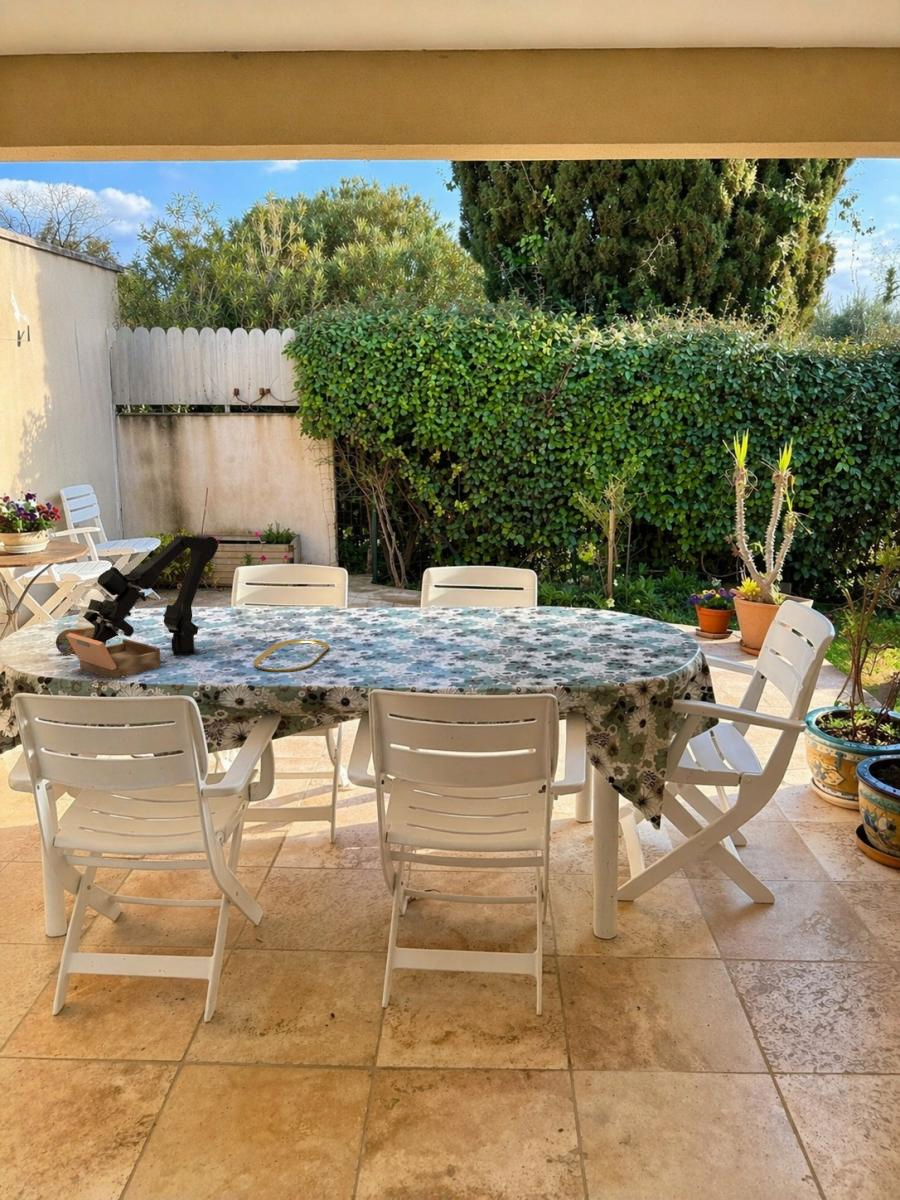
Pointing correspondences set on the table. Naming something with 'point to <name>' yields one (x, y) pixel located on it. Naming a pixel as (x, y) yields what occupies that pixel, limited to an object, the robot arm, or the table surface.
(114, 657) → the brown shallow open box
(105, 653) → the tailgate
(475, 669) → the table surface
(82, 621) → the honey pot
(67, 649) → the tin
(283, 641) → the oval ring
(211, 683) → the table surface
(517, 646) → the table surface
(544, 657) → the table surface
